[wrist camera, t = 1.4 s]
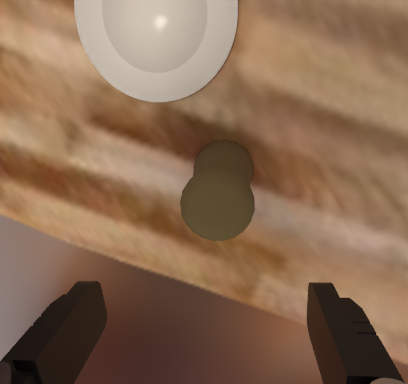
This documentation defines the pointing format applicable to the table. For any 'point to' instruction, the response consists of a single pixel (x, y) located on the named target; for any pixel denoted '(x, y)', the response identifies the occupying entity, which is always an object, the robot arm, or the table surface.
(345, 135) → the table surface
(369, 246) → the table surface
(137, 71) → the cream plate
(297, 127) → the table surface
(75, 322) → the robot arm
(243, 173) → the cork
